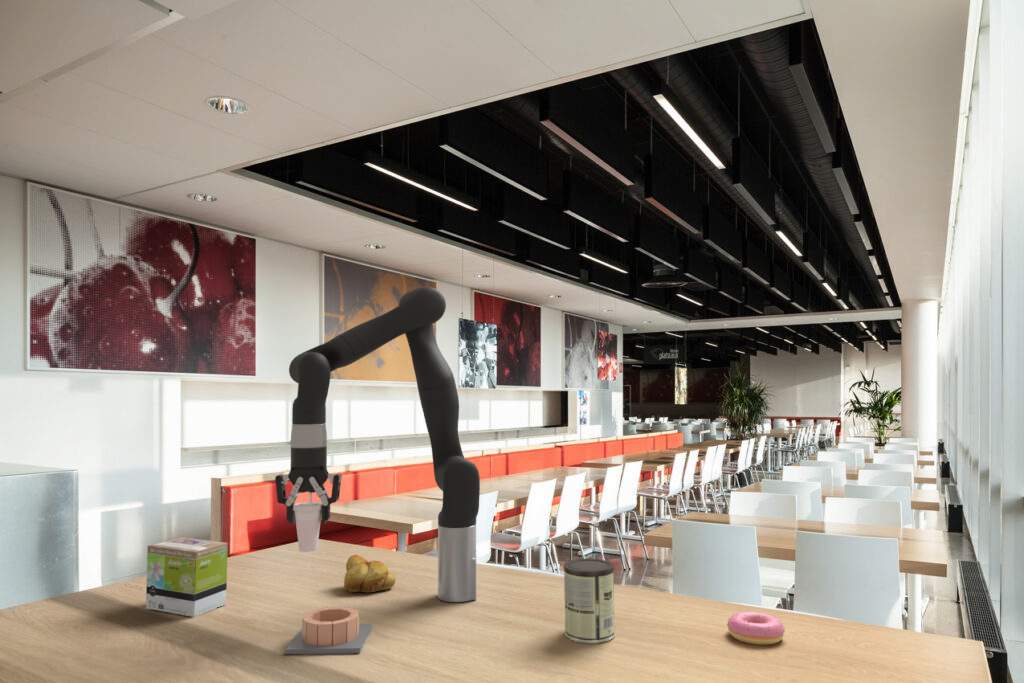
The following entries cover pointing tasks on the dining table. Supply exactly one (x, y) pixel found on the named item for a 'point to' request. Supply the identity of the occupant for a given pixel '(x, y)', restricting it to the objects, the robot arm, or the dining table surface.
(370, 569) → the bread roll
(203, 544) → the tea box
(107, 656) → the dining table surface
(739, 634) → the doughnut
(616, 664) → the dining table surface
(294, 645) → the collar
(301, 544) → the smoothie
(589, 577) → the coffee can
